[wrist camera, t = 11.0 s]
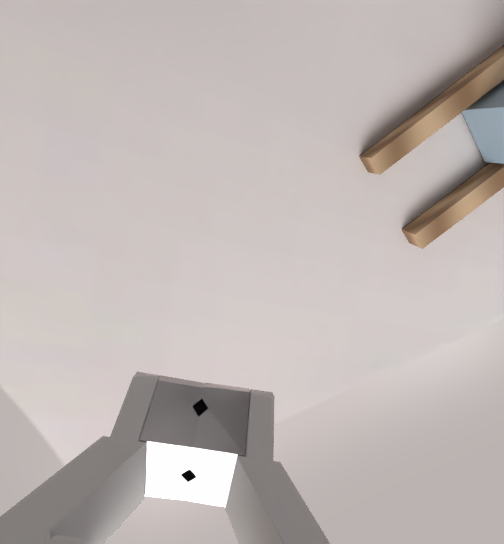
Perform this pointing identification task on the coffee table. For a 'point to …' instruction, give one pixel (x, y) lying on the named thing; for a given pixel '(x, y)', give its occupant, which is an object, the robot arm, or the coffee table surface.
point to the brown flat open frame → (424, 126)
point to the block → (488, 124)
